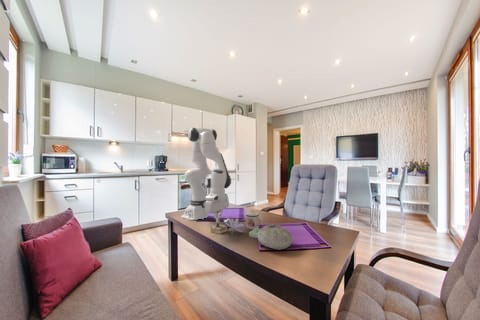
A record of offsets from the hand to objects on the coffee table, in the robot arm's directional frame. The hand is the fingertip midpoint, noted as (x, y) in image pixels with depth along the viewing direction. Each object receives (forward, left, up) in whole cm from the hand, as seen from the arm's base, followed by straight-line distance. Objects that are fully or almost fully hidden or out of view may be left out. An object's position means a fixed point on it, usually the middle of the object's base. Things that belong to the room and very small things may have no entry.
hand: (217, 217), depth 125 cm
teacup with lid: (+17, +18, -9) cm, 26 cm away
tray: (+26, +6, -9) cm, 28 cm away
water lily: (+12, +3, -9) cm, 15 cm away
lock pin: (0, 0, -5) cm, 5 cm away
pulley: (+2, +10, -9) cm, 14 cm away
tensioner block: (+1, 0, -9) cm, 9 cm away
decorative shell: (+40, -3, -9) cm, 41 cm away
